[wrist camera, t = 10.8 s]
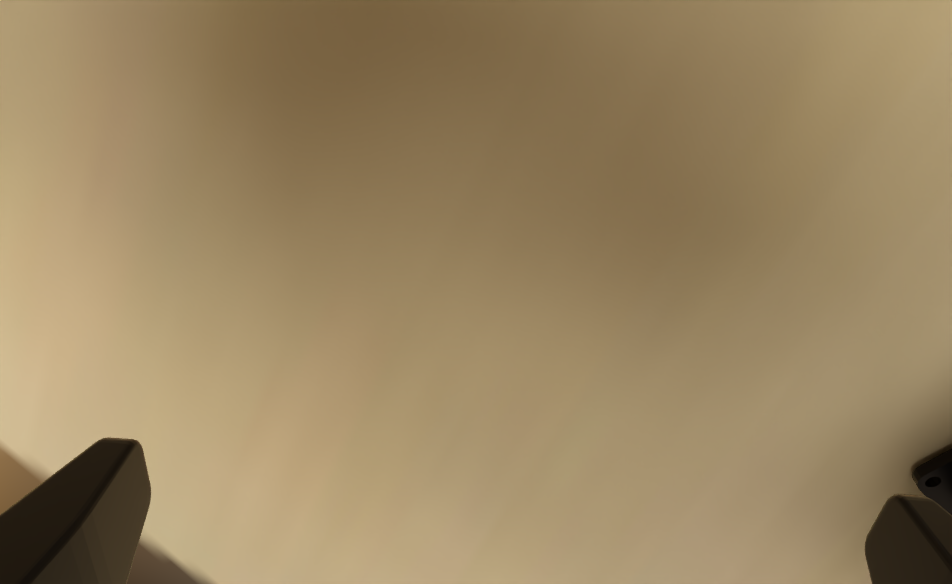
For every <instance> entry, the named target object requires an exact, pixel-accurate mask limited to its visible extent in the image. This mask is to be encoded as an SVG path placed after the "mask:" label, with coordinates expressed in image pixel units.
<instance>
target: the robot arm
mask: <svg viewBox="0 0 952 584" xmlns="http://www.w3.org/2000/svg"><path fill="white" fill-rule="evenodd" d="M912 478H913V479H914V481H915V483H916V485H917V486H918V488H919V490H920V491H921V492H922V493H923V494H924V495H925V496H926V497H925V496H916V495H902V494H897V495H893V496H892V497H890V498H889V499H888V500H887V501H886V503H885V505H884V507H883V508H882V510H881V512H880V514H879V515H878V517H877V519H876V521H875V523H874V524H873V526H872V528H871V530H870V531H869V533H868V535H867V538H866V542H865V555H866V560H867V564H868V569H869V573H870V577H871V581H872V584H952V449H951V450H949V451H947V452H945V453H943V454H942V455H940V456H938V457H936V458H934V459H932V460H930V461H928V462H926V463H924V464H922V465H920V466H919V467H918V468H916V469H915V470H914V472H913V474H912ZM150 499H151V486H150V481H149V476H148V471H147V467H146V462H145V457H144V453H143V449H142V446H141V444H140V443H139V442H138V441H137V440H134V439H122V438H103V439H101V440H99V441H97V442H95V443H94V444H93V445H92V446H90V447H89V448H88V449H86V450H85V451H84V452H82V453H81V454H80V455H78V456H77V457H76V458H74V459H73V460H72V461H70V462H69V463H68V464H66V465H65V466H64V467H63V468H61V469H60V470H59V471H57V472H56V473H55V474H53V475H52V476H51V477H49V478H48V479H47V480H45V481H44V482H43V483H41V484H40V485H39V486H38V487H36V488H35V489H34V490H32V491H31V492H30V493H28V494H27V495H26V496H24V497H23V498H22V499H20V500H19V501H18V502H16V503H15V504H14V505H12V506H11V507H10V508H8V509H7V510H6V511H5V512H3V513H2V514H1V515H0V584H126V583H127V580H128V576H129V573H130V570H131V566H132V563H133V559H134V556H135V553H136V549H137V546H138V543H139V539H140V536H141V532H142V529H143V526H144V522H145V519H146V516H147V512H148V509H149V505H150Z"/></svg>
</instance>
